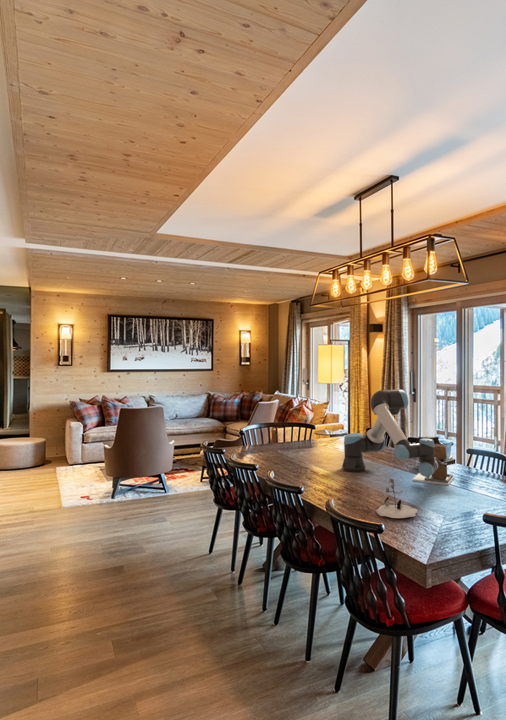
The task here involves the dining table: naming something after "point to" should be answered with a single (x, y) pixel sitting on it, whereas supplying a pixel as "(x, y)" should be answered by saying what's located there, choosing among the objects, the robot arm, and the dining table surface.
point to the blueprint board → (431, 480)
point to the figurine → (395, 507)
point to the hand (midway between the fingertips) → (439, 457)
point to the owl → (432, 439)
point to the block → (442, 470)
